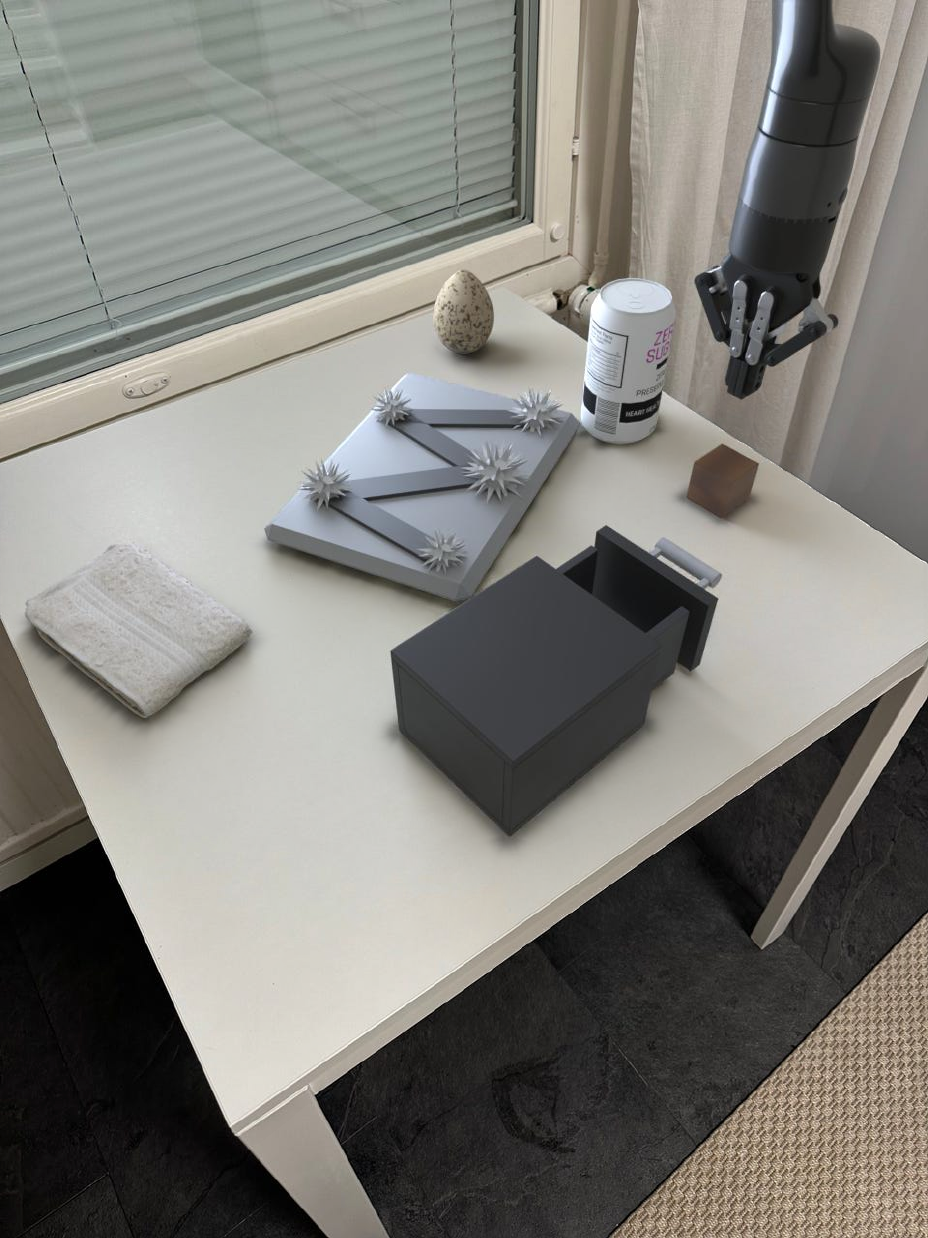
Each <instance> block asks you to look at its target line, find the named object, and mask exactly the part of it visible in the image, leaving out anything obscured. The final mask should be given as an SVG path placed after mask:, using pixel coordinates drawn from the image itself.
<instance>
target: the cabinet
mask: <svg viewBox="0 0 928 1238" xmlns="http://www.w3.org/2000/svg"><path fill="white" fill-rule="evenodd" d="M661 648H662V645H661V644H660V643H658V642H657V641H655V640H654V639H653V638H651V637H650V636H648V635H647V634H646V633H644V632H643V631H641V630H640V629H639V628H637V627H636V626H635V625H633V624H632V623H630V622H629V621H628V620H626V619H625V618H623V617H622V616H621V615H619V614H618V613H616V612H615V611H614V610H612V609H611V608H609V607H608V606H607V605H605V604H604V603H602V602H601V601H600V600H598V599H597V598H595V597H594V596H593V595H591V594H590V593H588V592H587V591H586V590H584V589H583V588H581V587H580V586H579V585H577V584H576V583H575V582H573V581H572V580H570V579H569V578H568V577H566V576H565V575H563V574H562V573H561V572H559V571H558V570H556V568H555V567H553V565H551V564H550V563H548V562H547V561H545V560H544V559H543V558H541V557H540V556H538V555H534V556H533V557H532V558H531V559H529V560H527V561H526V562H524V563H522V564H521V565H519V566H518V567H516V568H515V569H514V570H512V571H510V572H509V573H507V574H505V575H504V576H503V577H501V578H499V579H498V580H497V581H495V582H494V583H492V584H490V585H489V586H487V587H486V588H485V589H482V590H481V591H480V592H478V593H476V594H475V595H472V597H471V598H468V599H466V601H463V603H461V604H460V605H459V606H457V607H455V608H454V609H451V610H450V611H449V612H448V613H445V614H444V615H443V616H441V617H440V618H438V619H436V620H435V621H433V622H432V623H430V624H429V625H427V626H426V627H424V628H423V629H421V630H420V631H418V632H416V633H415V634H414V635H412V636H410V637H409V638H407V639H406V640H404V641H403V642H401V643H400V644H398V645H396V646H395V647H393V648H392V649H390V651H389V652H390V662H391V670H392V679H393V689H394V697H395V705H396V707H395V708H396V717H397V722H398V723H397V724H398V731H399V732H401V734H403V736H405V738H407V739H408V740H409V741H410V742H411V743H412V744H413V745H414V746H415V747H416V748H417V749H418V750H419V751H420V752H421V753H422V754H423V755H424V756H425V757H426V758H427V759H428V760H429V761H431V763H433V764H434V766H435V767H436V768H437V769H439V771H441V772H442V773H443V774H444V775H445V776H446V777H447V778H448V779H449V780H450V781H451V782H452V783H453V784H454V785H455V786H456V787H457V788H459V790H460V791H461V792H462V793H463V794H464V795H466V796H467V797H468V798H469V800H471V801H472V802H473V803H474V804H475V805H476V806H477V807H478V808H479V809H480V810H481V811H482V812H483V813H484V814H485V815H486V816H487V817H489V819H491V821H493V822H494V824H496V825H497V827H499V829H501V831H503V832H504V833H505V834H506V835H507V836H508V837H511V836H513V835H514V834H515V833H516V832H517V831H519V830H520V829H521V828H523V826H524V825H526V824H527V823H528V822H530V821H531V820H532V819H533V818H534V817H536V816H537V815H538V814H539V813H540V812H542V811H543V810H544V809H545V808H546V807H547V806H549V805H550V804H552V802H554V801H555V800H556V799H557V798H558V797H560V796H561V795H562V794H563V793H564V792H566V791H567V790H568V789H569V788H570V787H572V786H573V785H574V784H575V783H576V782H578V781H579V780H580V779H581V778H582V777H584V776H585V775H586V774H587V773H589V772H590V771H591V770H593V768H594V767H596V766H597V765H598V764H599V763H600V762H602V761H603V760H604V759H605V758H607V756H609V755H610V754H611V753H612V752H613V751H615V750H617V748H619V747H620V746H621V745H622V744H624V742H626V741H627V740H628V739H629V738H631V737H632V736H633V735H634V734H635V733H637V732H638V731H639V730H640V729H642V728H643V726H644V725H645V722H646V717H647V713H648V708H649V704H650V700H651V695H652V692H653V691H652V687H653V683H654V679H655V674H656V670H657V666H658V661H659V657H660V652H661Z"/></svg>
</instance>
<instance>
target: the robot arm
mask: <svg viewBox="0 0 928 1238" xmlns="http://www.w3.org/2000/svg"><path fill="white" fill-rule="evenodd" d="M833 3H834V0H771V48H770V49H771V50H770V51H771V52H770V66H769V69H768V70H769V71H768V75H767V78H766V84H765V90H764V94H763V98H762V102H761V107H760V112H759V116H758V121H757V125H756V129H755V132H754V135H753V137H752V141H751V144H750V147H749V150H748V153H747V157H746V160H745V164H744V169H743V172H742V178H741V182H740V188H739V192H738V197H737V202H736V206H735V211H734V216H733V221H732V226H731V229H730V234H729V239H728V250H729V251H728V252H727V254H726V255H725V256H724V257H723V259H722V261H721V264H720V265H714V266H712V267H710V268H708V269H706V270H705V271H703V272H700V273H698V274H697V275H696V276H695V277H694V280H693V281H694V285H695V288H696V291H697V293H698V296H699V300H700V302H701V305H702V307H703V310H704V313H705V316H706V319H707V322H708V324H709V328H710V330H711V332H712V336H713V337H714V340H715V341H716V342H718V343H724V344H725V345H726V346H727V347H728V352H729V354H730V356H729V360H728V365H727V369H726V373H725V377H724V384H725V386H727V389H726V393H727V394H728V395H730V396H733V397H735V398H737V399H738V400H744V399H745V398H747V397H749V396H751V395H752V394H754V393H756V392H757V391H758V390H759V389H760V388H761V387H762V384H763V380H764V376H765V373H766V369H767V366H768V367H770V368H774V367H776V366H777V365H779V364H780V363H782V362H784V361H785V360H786V359H788V358H790V357H792V356H793V355H795V354H797V353H798V352H800V351H801V350H803V349H804V348H806V347H808V346H809V345H811V344H812V343H813V342H815V341H817V340H818V339H821V338H822V337H823V336H825V335H827V334H829V333H830V332H831V331H833V330H834V329H836V328H837V327H838V326H839V318H838V316H837V315H836V314H834V313H828V314H827V313H826V311H825V309H824V307H823V306H822V303H820V301H819V298H820V295H821V293H822V286H821V272H822V269H823V266H824V265H825V263H826V260H827V257H828V254H829V250H830V247H831V243H832V240H833V237H834V233H835V231H836V230H835V229H836V227H837V224H838V220H839V217H840V213H841V210H842V206H843V203H844V202H845V200H846V198H847V195H848V187H849V183H850V180H851V176H852V173H853V169H854V164H855V159H856V153H857V146H858V141H859V138H860V134H861V130H862V127H863V124H864V120H865V117H866V113H867V110H868V105H869V103H870V100H871V97H872V93H873V90H874V86H875V83H876V80H877V76H878V73H879V68H880V63H881V47H880V44H879V42H878V40H877V38H876V37H875V36H873V35H872V34H871V33H869V32H867V31H865V30H863V29H860V28H857V27H854V26H850V25H846V24H845V25H844V24H839V23H835V18H834V7H833V6H834V5H833ZM802 312H803V316H802V318H801V319H800V320H799V321H798V325H797V331H798V333H796V334H795V335H793V336H792V337H790V338H788V339H787V340H786V341H784V342H783V343H778V341H779V338H780V335H781V334H782V333H783V331H784V330H785V329H786V326H787V324H788V322H790V321H792V320H793V319H794V318H796V317H797V316H798V315H800V314H801V313H802Z"/></svg>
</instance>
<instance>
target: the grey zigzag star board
mask: <svg viewBox="0 0 928 1238" xmlns="http://www.w3.org/2000/svg"><path fill="white" fill-rule="evenodd" d="M523 391H524V397H525V398H524V397H523V396H522V395H521V394H518V396H519V398H520V399H519V398H518V397H509V396H505V395H501V394H497V393H493V392H489V391H485V390H481V389H477V388H473V387H469V386H466V385H461V384H457V383H453V382H448V381H445V380H441V379H437V378H433V377H429V376H424V375H421V374H417V373H413V372H408V373H406V374H405V375H404V376H402V377H401V378H400V379H399V380H398V381H397V382H396V383H395V384H394V385H393V387H392V388H391V389H390V388H389V386H387V389H386V388H384V390H383V394H384V396H383V395H382V394H380V393H379V392H377V394H376V396H377V397H376V396H374V395H372V396H373V398H374V399H375V400H376V401H377V402H375V404H371V406H372V407H373V408H371V410H370V412H369V413H368V414H367V415H366V416H365V417H364V418H363V420H362V421H361V422H360V423H359V424H358V425H357V426H356V427H355V428H354V429H353V431H352V432H351V433H349V435H348V436H347V437H346V438H345V439H344V440H343V441H342V442H341V443H340V444H339V446H338V447H337V448H336V449H335V450H334V451H333V452H332V454H330V455H329V457H328V458H327V459H326V460H325V461H324V462H323V460H322V458H320V464H321V466H320V465H319V464H318V461H317V460H315V463H316V464H315V465H316V468H317V469H316V471H315V472H314V471H313V470H311V469H309V468H308V467H307V466H305V468H306V469H307V471H308V472H309V473H310V474H309V473H306V472H305V471H303V470H301V472H302V473H303V474H304V475H305V476H306V479H307V481H298V483H299V484H302V485H300V488H298V491H297V492H296V493H295V494H294V495H293V496H292V497H291V499H289V501H288V502H287V503H286V504H285V505H284V506H283V507H282V508H281V509H280V510H279V512H278V513H277V514H276V515H275V516H274V517H273V518H272V519H271V520H270V521H269V522H268V523H267V525H266V526H265V527H263V530H264V533H265V536H266V538H267V540H268V541H269V542H273V543H276V544H279V545H282V546H285V547H288V548H291V549H295V550H297V551H301V552H304V553H307V554H309V555H312V556H316V557H318V558H322V559H325V560H327V561H331V562H334V563H338V564H341V565H343V566H346V567H350V568H351V569H355V570H359V571H362V572H364V573H367V574H370V575H373V576H377V577H379V578H383V579H386V580H388V581H392V582H395V583H397V584H401V585H404V586H407V587H410V588H412V589H413V588H414V589H417V590H419V591H422V592H425V593H428V594H432V595H434V596H435V595H436V596H438V597H441V598H444V599H447V600H450V601H453V602H459V603H461V602H464V601H465V600H466V601H467V600H469V599H470V598H472V597H473V596H474V593H476V590H477V589H478V587H479V586H480V584H481V582H482V581H483V579H484V578H485V576H486V575H487V574H488V572H489V570H490V568H491V567H492V565H493V564H494V562H495V560H496V559H497V557H498V556H499V554H500V553H501V551H502V549H503V548H504V546H505V544H506V543H507V542H508V540H509V538H510V537H511V535H512V533H513V532H514V530H515V529H516V527H517V526H518V524H519V522H520V521H521V519H522V518H523V516H524V514H525V513H526V511H527V510H528V508H529V507H530V505H531V503H532V501H533V500H534V499H535V497H536V495H537V494H538V492H539V491H540V489H541V487H542V486H543V484H544V483H545V481H546V480H547V478H548V476H550V473H551V472H552V470H553V469H554V467H555V465H556V464H557V462H558V461H559V459H560V457H561V456H562V454H563V453H564V451H565V449H566V448H567V446H568V445H569V444H570V442H571V441H572V439H573V437H574V435H575V434H576V432H577V430H578V429H579V428H580V426H581V422H580V421H579V420H578V419H577V417H576V416H575V415H574V414H573V413H572V412H571V411H565V410H560V409H559V408H560V407H562V406H563V405H564V403H562V404H560V402H558V400H560V397H558V398H556V399H554V400H552V401H551V399H549V398H550V395H551V392H552V389H550V390H549V391H548V392H547V393H546V395H545V396H544V387H542V388H541V390H540V393H539V390H537V391H536V394H535V391H534V388H533V386H532V385H531V389H530V388H528V394H527V392H526V391H525V390H523ZM556 402H558V403H556Z"/></svg>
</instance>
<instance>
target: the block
mask: <svg viewBox="0 0 928 1238" xmlns="http://www.w3.org/2000/svg"><path fill="white" fill-rule="evenodd" d="M759 466H760V462H758V461H756V460H754V459H752V458H750V457H748V456H746V455H744V454H743V453H741V452H739V451H737V450H735V449H733V448H731V447H730V446H728V445H726V444H724V443H721V444H719V445H718V446H716V447H714V448H713V449H712V450H710V451H708V452H707V453H706V454H704V455H702V456H701V457H699V458H698V459H696V460H695V461H693V467H692V471H691V474H690V480H689V484H688V489H687V494H686V498H687V499H689V500H690V501H692V502H693V503H695V504H697V505H699V506H701V507H702V508H704V509H706V510H707V511H709V512H710V513H712V514H714V515H716V516H717V517H719V518H721V519H723V518H724V517H726V516H728V515H729V514H730V513H732V512H733V511H734V510H736V509H737V508H739V507H740V506H741V505H743V504H744V503H746V502H747V501H748V500H750V498H751V495H752V491H753V486H754V483H755V480H756V476H757V473H758V470H759Z"/></svg>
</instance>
